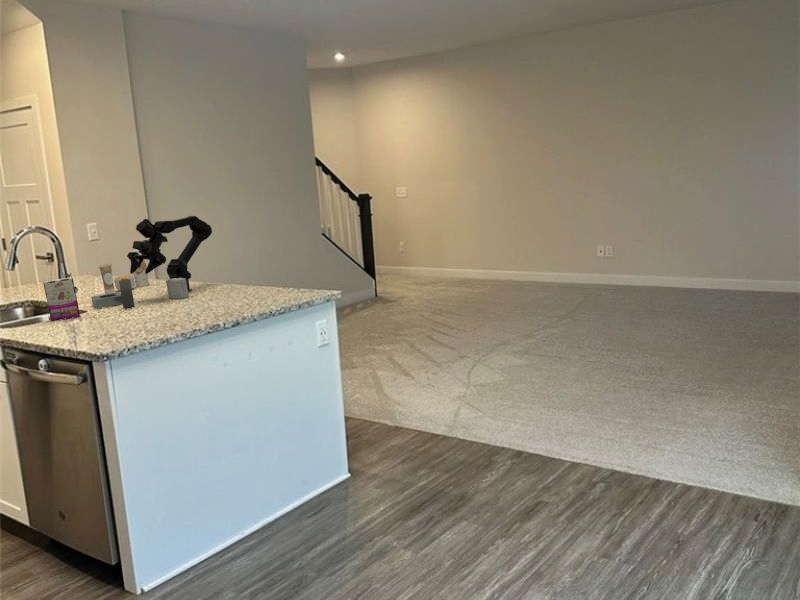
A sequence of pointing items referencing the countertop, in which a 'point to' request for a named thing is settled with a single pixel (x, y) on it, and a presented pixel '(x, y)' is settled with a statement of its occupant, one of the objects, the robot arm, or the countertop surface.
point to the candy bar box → (61, 298)
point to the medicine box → (177, 288)
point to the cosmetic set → (139, 276)
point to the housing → (107, 300)
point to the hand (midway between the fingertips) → (138, 273)
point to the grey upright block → (126, 292)
